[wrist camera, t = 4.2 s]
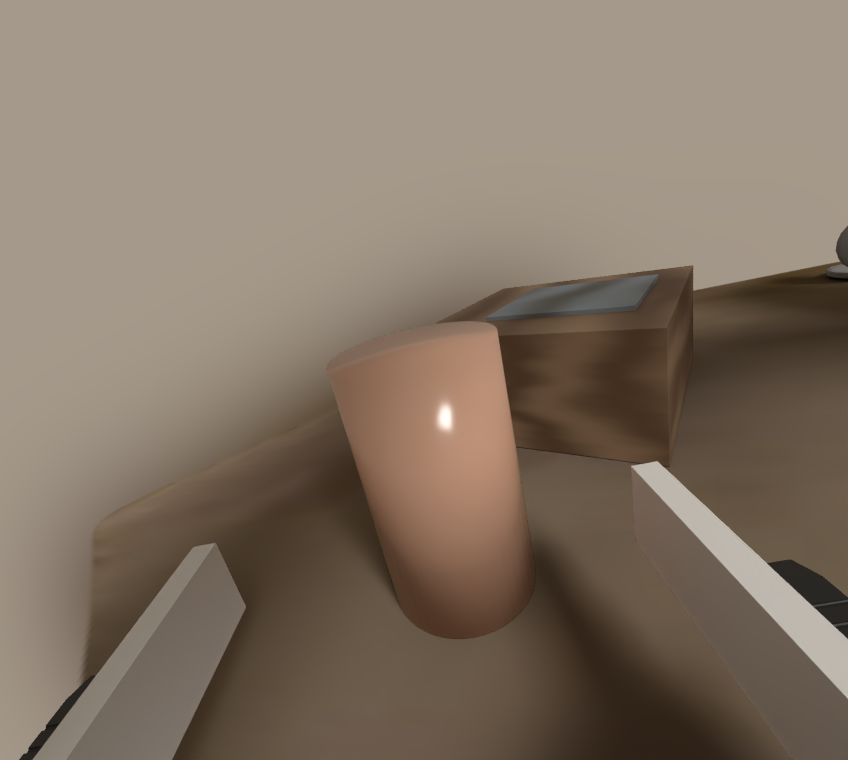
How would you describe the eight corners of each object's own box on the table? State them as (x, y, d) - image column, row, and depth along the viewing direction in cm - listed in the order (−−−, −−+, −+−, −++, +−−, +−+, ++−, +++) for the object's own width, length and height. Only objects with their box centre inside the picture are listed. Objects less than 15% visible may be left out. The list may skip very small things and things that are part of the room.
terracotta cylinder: (556, 544, 19) (525, 316, 15) (497, 667, 14) (434, 380, 11) (443, 513, 23) (398, 325, 19) (368, 602, 18) (290, 375, 15)
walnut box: (693, 357, 35) (693, 261, 33) (669, 466, 22) (666, 322, 20) (513, 358, 46) (502, 286, 43) (424, 434, 33) (401, 336, 30)
